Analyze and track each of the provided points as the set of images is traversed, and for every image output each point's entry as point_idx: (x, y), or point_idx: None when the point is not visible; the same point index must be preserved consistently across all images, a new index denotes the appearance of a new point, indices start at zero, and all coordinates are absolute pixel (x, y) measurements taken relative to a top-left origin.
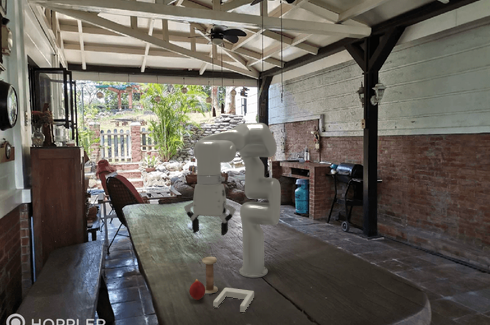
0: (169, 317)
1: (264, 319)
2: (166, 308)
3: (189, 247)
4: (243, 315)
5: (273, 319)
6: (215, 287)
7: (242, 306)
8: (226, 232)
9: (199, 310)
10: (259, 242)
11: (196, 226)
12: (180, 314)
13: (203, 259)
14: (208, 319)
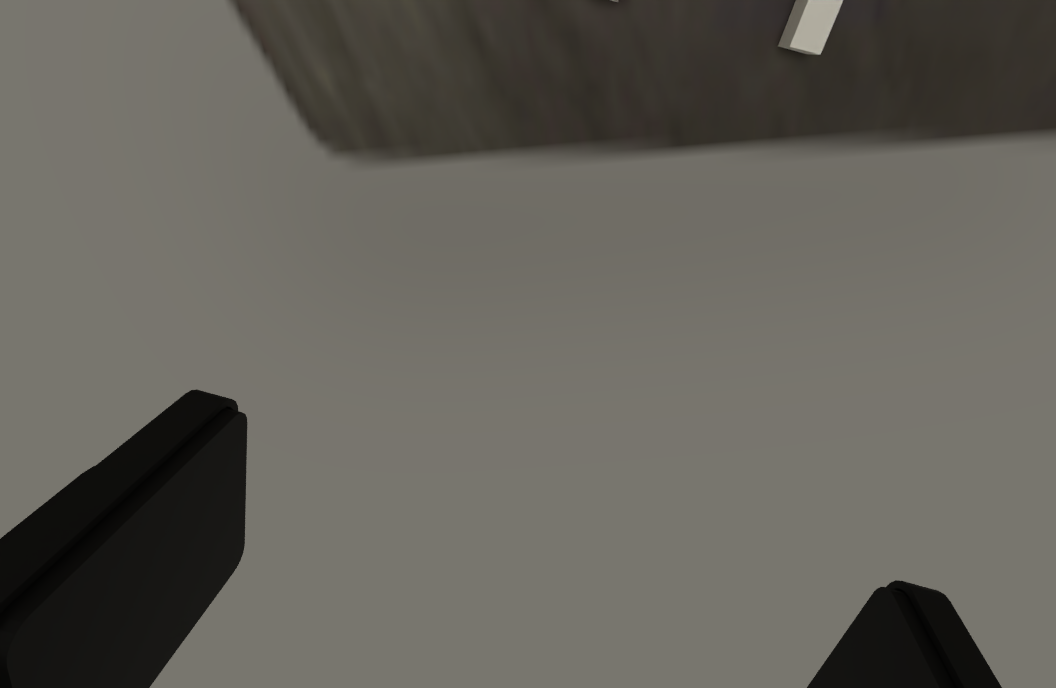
0: (350, 128)
1: (931, 130)
2: (287, 14)
3: None
4: (797, 84)
5: (993, 128)
6: None
7: (806, 51)
8: (935, 601)
9: (502, 30)
10: None
11: (161, 612)
12: (399, 90)
13: None
14: (576, 142)
